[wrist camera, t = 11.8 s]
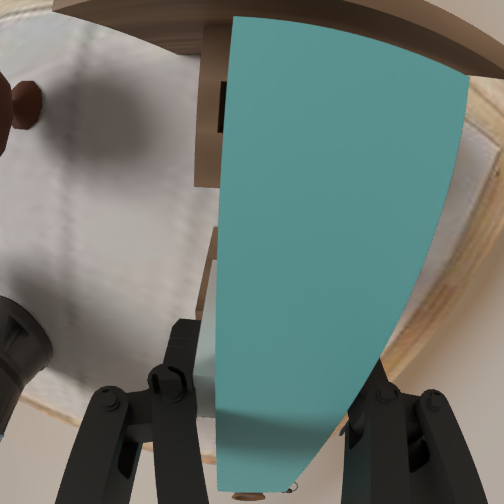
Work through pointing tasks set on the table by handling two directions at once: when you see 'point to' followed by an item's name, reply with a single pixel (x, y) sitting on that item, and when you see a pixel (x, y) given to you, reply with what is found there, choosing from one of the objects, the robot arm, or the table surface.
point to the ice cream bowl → (17, 107)
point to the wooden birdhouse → (287, 9)
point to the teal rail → (318, 230)
